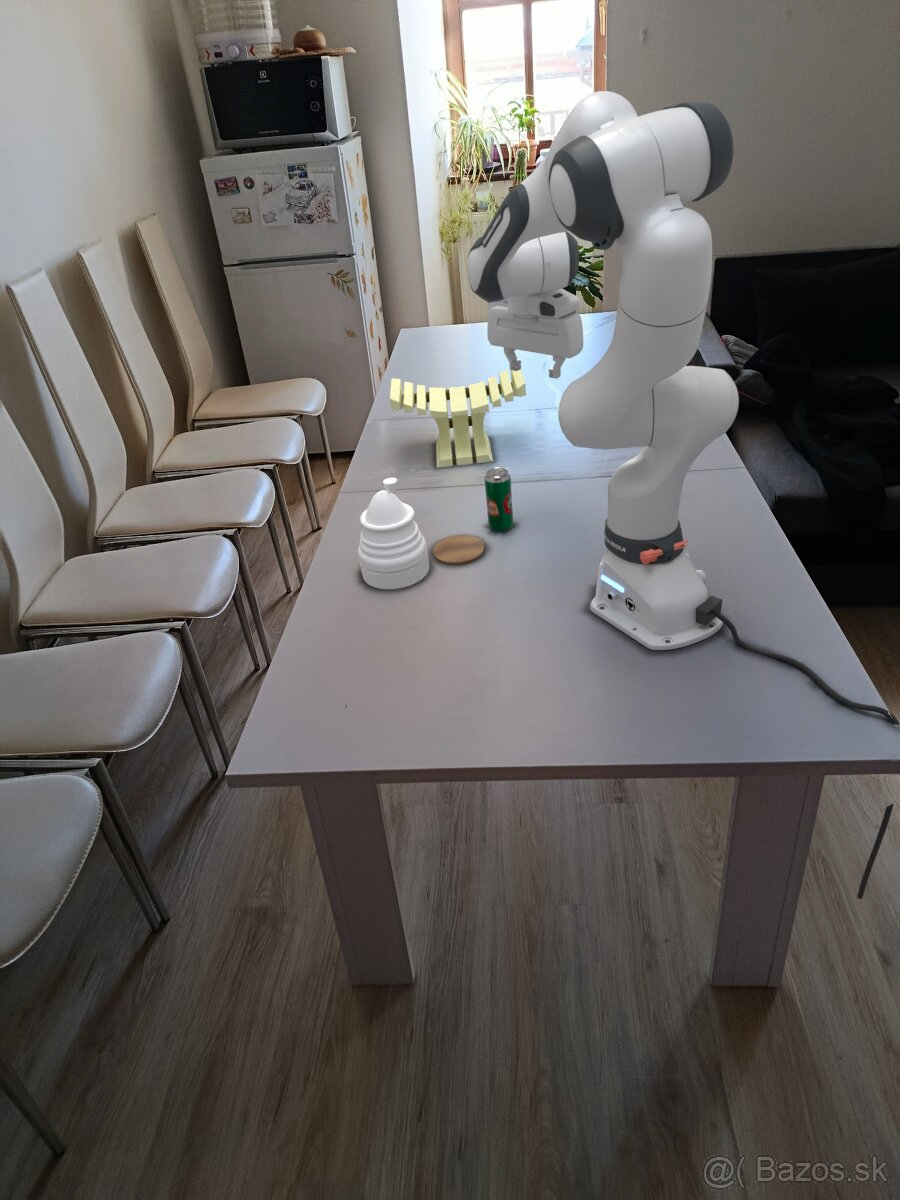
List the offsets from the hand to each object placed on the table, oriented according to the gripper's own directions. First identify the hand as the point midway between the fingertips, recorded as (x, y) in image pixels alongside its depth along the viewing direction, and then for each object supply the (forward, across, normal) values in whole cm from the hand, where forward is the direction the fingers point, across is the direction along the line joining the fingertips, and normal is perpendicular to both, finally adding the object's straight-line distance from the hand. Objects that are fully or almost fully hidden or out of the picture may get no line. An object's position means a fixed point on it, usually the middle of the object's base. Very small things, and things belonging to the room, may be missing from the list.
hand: (534, 373), depth 152 cm
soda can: (+27, 0, -13) cm, 30 cm away
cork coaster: (+27, -1, -25) cm, 37 cm away
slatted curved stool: (+27, -31, +10) cm, 42 cm away
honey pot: (+28, -6, -37) cm, 46 cm away
